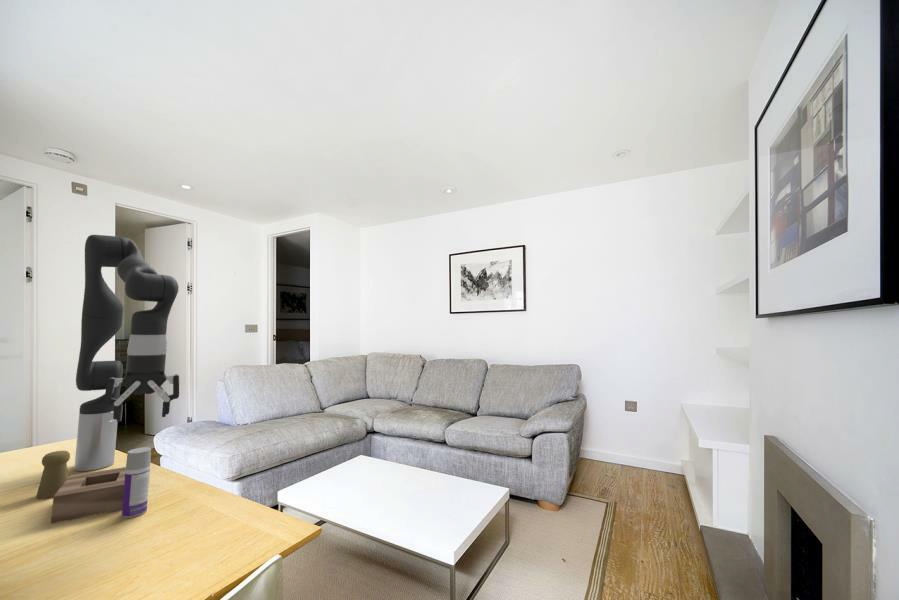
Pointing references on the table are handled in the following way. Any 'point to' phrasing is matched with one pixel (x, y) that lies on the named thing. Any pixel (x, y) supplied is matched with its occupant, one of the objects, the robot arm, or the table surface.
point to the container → (136, 482)
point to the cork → (53, 474)
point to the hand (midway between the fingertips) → (141, 418)
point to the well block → (89, 495)
